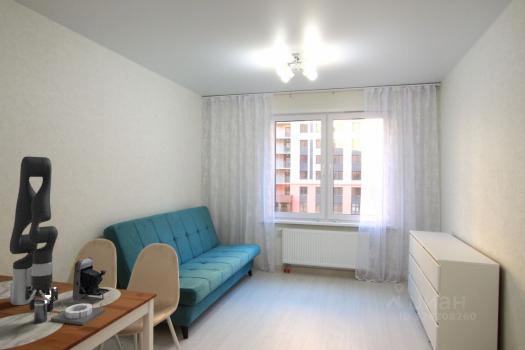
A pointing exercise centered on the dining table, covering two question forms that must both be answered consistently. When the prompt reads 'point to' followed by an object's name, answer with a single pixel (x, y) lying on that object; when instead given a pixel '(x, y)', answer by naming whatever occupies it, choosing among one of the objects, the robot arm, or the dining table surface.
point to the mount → (78, 314)
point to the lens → (40, 310)
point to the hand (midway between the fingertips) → (41, 310)
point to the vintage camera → (87, 280)
